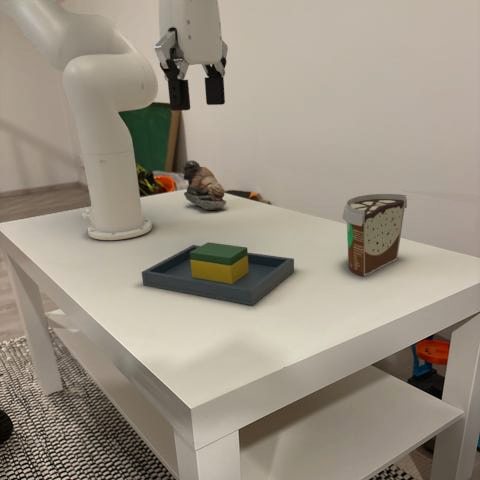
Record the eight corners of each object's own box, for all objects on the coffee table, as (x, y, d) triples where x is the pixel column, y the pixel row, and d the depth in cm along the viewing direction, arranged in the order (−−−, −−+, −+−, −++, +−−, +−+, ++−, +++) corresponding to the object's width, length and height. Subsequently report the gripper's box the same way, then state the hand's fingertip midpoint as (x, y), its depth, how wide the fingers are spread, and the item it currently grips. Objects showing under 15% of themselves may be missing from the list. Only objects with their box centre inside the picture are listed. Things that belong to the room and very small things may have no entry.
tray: (143, 285, 76) (141, 272, 75) (193, 256, 87) (192, 244, 86) (252, 305, 68) (251, 291, 67) (294, 271, 78) (294, 258, 77)
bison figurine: (233, 208, 115) (230, 162, 110) (207, 215, 111) (203, 167, 106) (202, 200, 123) (198, 157, 119) (177, 206, 119) (172, 162, 115)
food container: (368, 249, 86) (372, 189, 81) (402, 257, 82) (408, 194, 77) (324, 270, 78) (325, 205, 74) (358, 279, 74) (362, 211, 70)
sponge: (191, 277, 76) (189, 252, 75) (209, 266, 80) (207, 242, 79) (232, 284, 73) (230, 257, 72) (248, 272, 77) (247, 247, 75)
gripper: (200, -17, 79) (208, 103, 87) (126, -30, 66) (144, 113, 73) (242, -23, 76) (247, 102, 83) (173, -38, 62) (187, 112, 70)
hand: (198, 107), depth 78 cm, fingers open, 9 cm apart
